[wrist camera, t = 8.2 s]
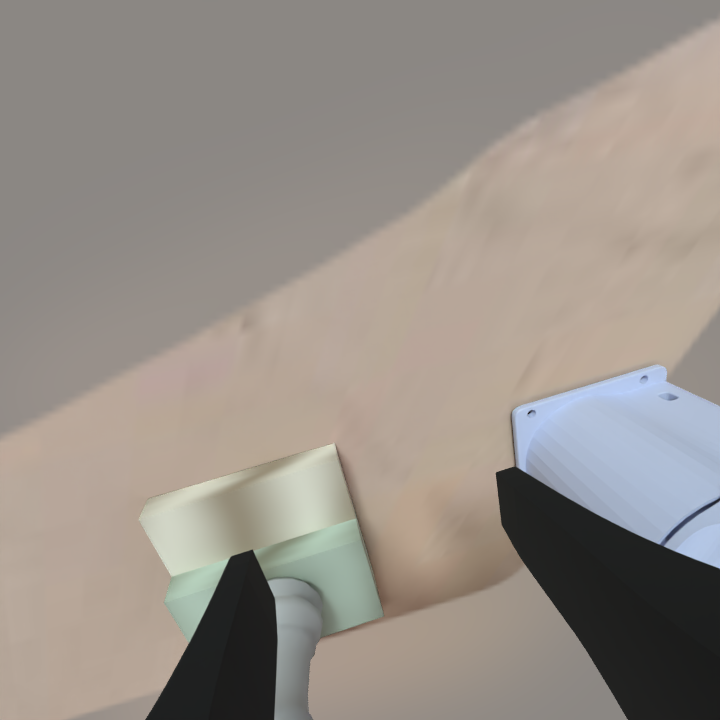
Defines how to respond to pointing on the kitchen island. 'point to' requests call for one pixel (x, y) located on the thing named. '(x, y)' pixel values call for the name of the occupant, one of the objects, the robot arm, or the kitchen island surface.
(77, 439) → the kitchen island surface
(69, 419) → the kitchen island surface
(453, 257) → the kitchen island surface
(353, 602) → the stepped riser
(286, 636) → the rook chess piece
